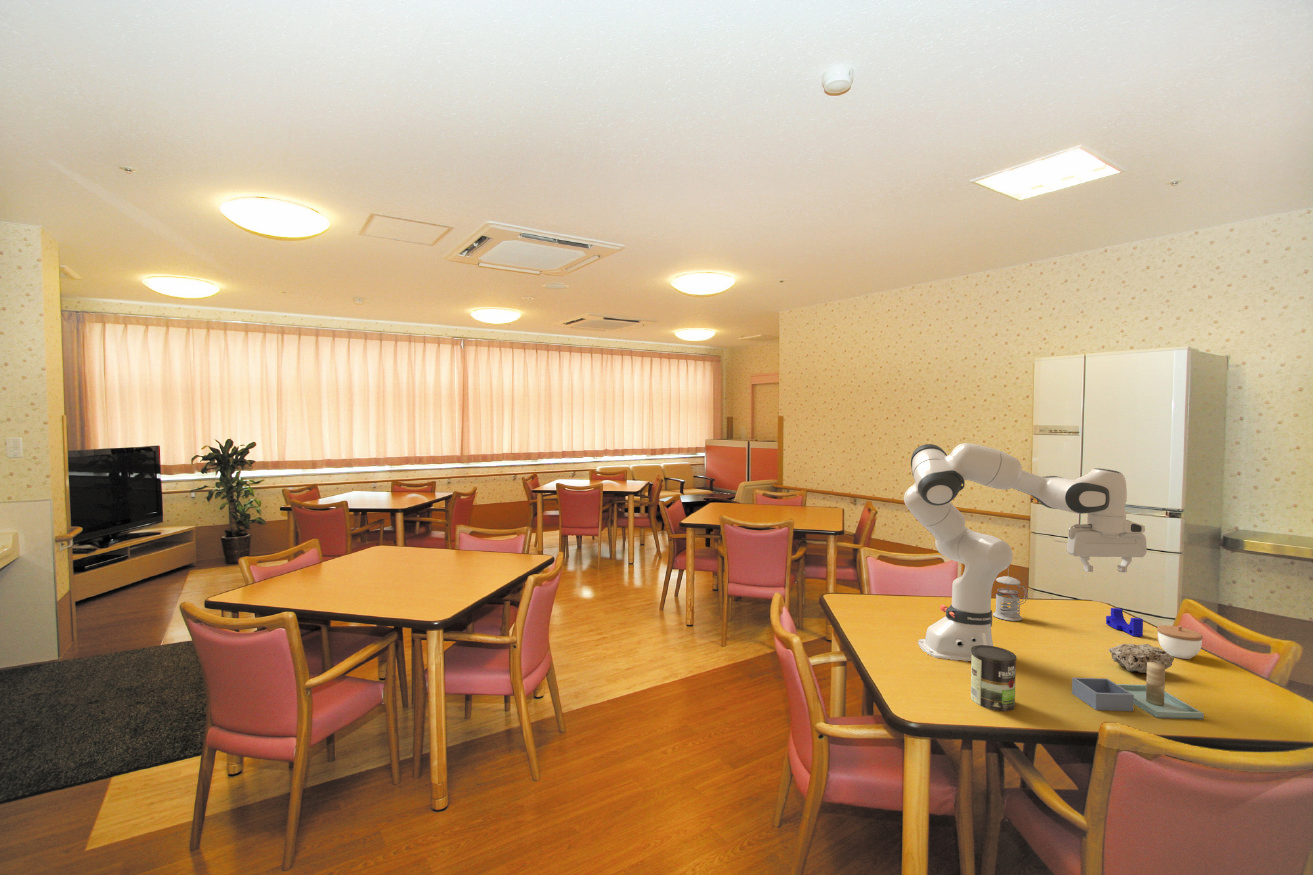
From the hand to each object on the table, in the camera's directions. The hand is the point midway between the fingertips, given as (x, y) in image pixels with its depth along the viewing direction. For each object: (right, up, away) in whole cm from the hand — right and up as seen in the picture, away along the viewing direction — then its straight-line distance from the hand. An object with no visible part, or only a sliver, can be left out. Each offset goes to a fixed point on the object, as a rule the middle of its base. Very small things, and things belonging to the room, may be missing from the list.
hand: (1105, 571), depth 166 cm
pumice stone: (+14, -31, +4) cm, 35 cm away
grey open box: (-13, -32, -15) cm, 37 cm away
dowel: (0, -31, -16) cm, 35 cm away
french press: (+5, -30, +53) cm, 61 cm away
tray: (0, -32, -16) cm, 35 cm away
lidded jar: (+37, -31, +17) cm, 51 cm away
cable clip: (+38, -31, +39) cm, 62 cm away
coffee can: (-42, -32, -16) cm, 55 cm away
